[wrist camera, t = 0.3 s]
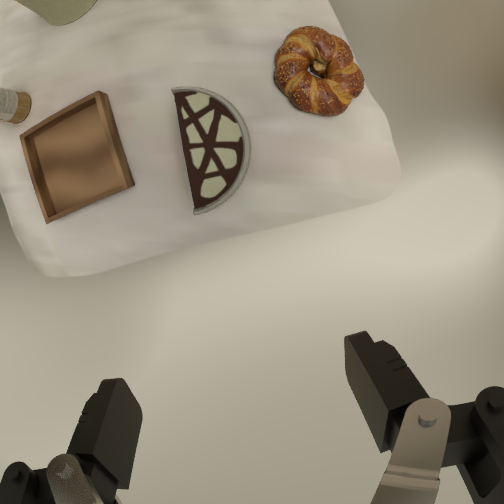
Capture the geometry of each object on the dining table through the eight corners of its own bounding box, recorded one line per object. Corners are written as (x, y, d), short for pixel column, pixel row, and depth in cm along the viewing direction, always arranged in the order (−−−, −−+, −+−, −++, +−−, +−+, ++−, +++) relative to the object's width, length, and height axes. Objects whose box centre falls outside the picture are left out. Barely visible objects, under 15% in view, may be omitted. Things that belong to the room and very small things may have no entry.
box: (31, 135, 31) (19, 135, 29) (107, 94, 31) (98, 90, 28) (57, 218, 35) (46, 224, 33) (135, 185, 35) (127, 188, 32)
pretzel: (258, 37, 31) (262, 27, 28) (339, 26, 31) (350, 16, 28) (286, 126, 35) (293, 123, 32) (366, 110, 35) (379, 107, 32)
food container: (252, 192, 37) (263, 207, 28) (201, 201, 37) (194, 219, 27) (236, 91, 33) (240, 70, 24) (183, 101, 33) (169, 83, 23)
